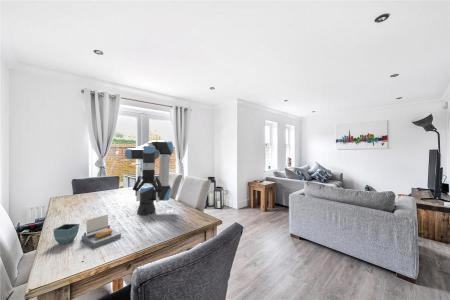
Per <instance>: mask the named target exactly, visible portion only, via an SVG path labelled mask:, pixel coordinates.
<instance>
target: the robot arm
mask: <svg viewBox="0 0 450 300" xmlns="http://www.w3.org/2000/svg"><path fill="white" fill-rule="evenodd" d="M174 150H175V149H174V143H173V142H172V140H151V141H150V140H149V141H147V142H145V143H143V144H142V145H139V146H136V147H134V148H131V147H130V148H126V149H125V151H124V157H125V159H127V160H142V175H139V176H137V180H135V181H136V182H135V183H134V186H133V187H132V191H135V194H134V195H135V197H136V199H135V201H136V202H139V205H138V207H137V210H136V214H137V215H138V214H139V215H140V216H149V215H148V214H150V215H153V214H155V213H156V212H155V211H157V210H156V205H155V203H156V204H157V203H160V202H161V201H163V202H164V201H165V202H166V201H170V200H171V196H172V190H173V188H172V186H171V184H169V179H170V177H169V176H170V160H171V159H170V158H171V157H172V154H174ZM157 159H159V166H158V168H159V170H158V176H155V172H156V165H155V164H156V160H157ZM141 180H142V181H141ZM145 184H151V185H145ZM144 185H145V186H144ZM154 202H155V203H154ZM154 212H155V213H154ZM152 213H153V214H152ZM139 215H138V216H139Z"/></svg>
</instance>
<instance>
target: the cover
mask: <svg viewBox="0 0 450 300" xmlns="http://www.w3.org/2000/svg"><path fill="white" fill-rule="evenodd" d="M108 225H109V214H107V213H106V214H104V215H100V216H96V217H92V218H91V217H90V218H88V219H86V234H89V233H92V232H95V231H98V230H102V229H105V228H108Z"/></svg>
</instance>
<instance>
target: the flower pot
mask: <svg viewBox="0 0 450 300" xmlns="http://www.w3.org/2000/svg"><path fill="white" fill-rule="evenodd" d="M79 229H80V223H65V224H62V225H60V226H59V227H57V228H56V227H55V229H52V230H53V237H54V240H55V241H56V242H57V243H58V244H69V243H70V242H72V241H74V240H75V238H76V237H77V236H78V233H79Z"/></svg>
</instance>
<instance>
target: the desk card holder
mask: <svg viewBox="0 0 450 300" xmlns="http://www.w3.org/2000/svg"><path fill="white" fill-rule="evenodd" d="M108 229H112V228H111V225H110V224H108V228H105V229H101V230H98V231H95V232H92V233H89V234H87V231H86V232H83V235H81V241H83V242H84V243H85V244H88V246H90V247H92V248H93V249H95V248H97V247H100V246H102V245H105V244H107V243H110V242H113V241H115V240H118V239H120V238H122V233H121V232H119V231H116V230H115V229H112V233H111V234H109V235H106V236H103V237H100V238H96V233H99V232H102V231H105V230H108Z"/></svg>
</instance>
